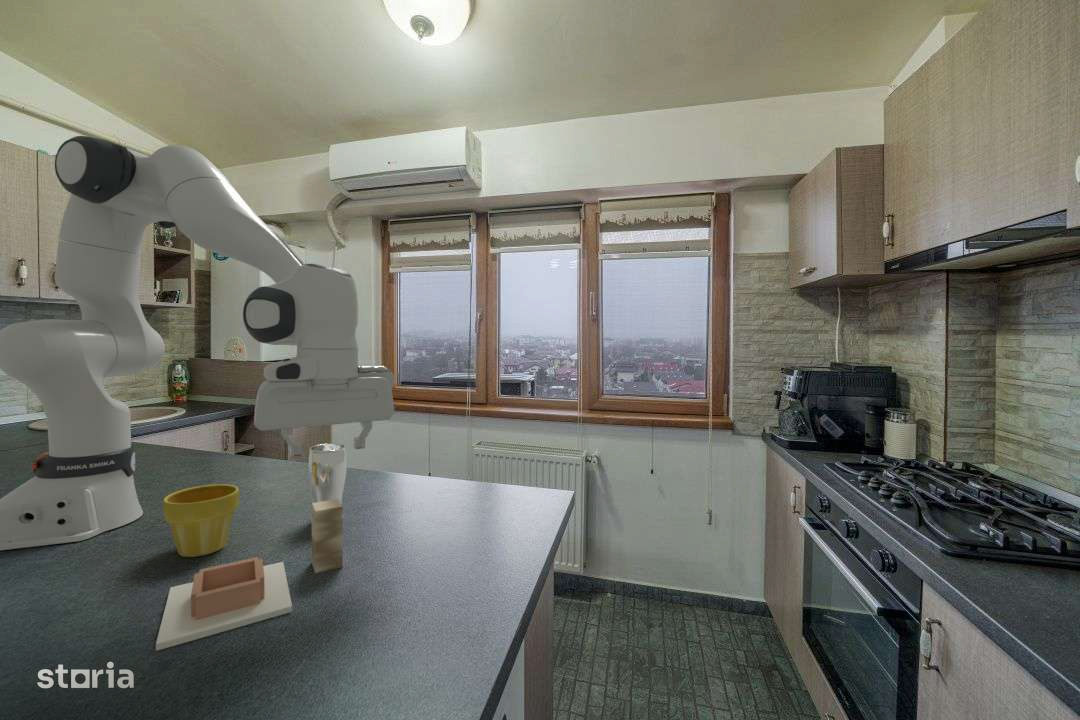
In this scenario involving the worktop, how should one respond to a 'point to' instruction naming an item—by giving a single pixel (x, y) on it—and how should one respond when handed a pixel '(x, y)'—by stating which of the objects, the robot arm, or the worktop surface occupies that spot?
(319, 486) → the beer glass
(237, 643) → the worktop surface
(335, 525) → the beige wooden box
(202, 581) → the framed base plate
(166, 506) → the plant pot
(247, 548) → the worktop surface
